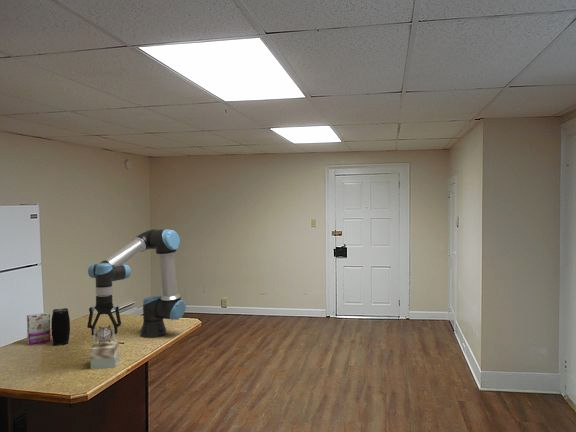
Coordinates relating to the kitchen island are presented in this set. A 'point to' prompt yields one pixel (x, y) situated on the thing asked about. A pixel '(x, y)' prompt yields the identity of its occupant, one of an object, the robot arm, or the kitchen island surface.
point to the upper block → (104, 350)
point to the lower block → (105, 362)
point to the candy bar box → (38, 328)
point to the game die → (104, 334)
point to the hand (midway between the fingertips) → (104, 341)
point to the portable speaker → (60, 326)
